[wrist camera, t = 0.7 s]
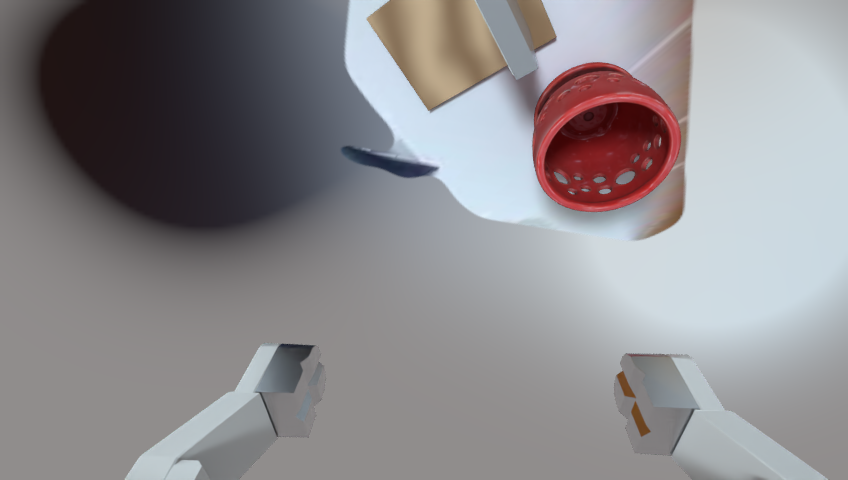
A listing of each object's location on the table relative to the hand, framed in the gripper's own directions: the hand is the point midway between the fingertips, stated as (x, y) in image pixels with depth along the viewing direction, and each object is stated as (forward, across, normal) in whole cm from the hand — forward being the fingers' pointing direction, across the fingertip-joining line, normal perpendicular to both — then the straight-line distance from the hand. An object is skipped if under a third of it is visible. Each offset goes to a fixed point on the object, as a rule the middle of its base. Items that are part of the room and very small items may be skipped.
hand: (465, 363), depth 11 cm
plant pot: (+42, -14, +4) cm, 45 cm away
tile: (+40, -4, -7) cm, 40 cm away
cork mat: (+41, 0, -5) cm, 41 cm away
